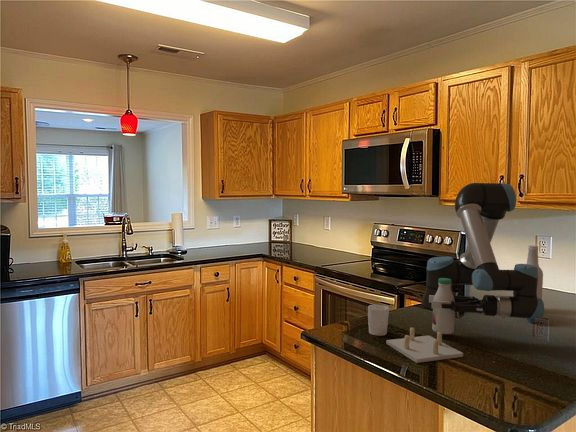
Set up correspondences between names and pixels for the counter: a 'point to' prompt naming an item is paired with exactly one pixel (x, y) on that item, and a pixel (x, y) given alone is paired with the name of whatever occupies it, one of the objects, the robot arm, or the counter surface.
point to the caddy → (424, 347)
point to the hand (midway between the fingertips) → (430, 301)
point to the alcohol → (533, 260)
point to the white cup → (378, 319)
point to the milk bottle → (443, 317)
